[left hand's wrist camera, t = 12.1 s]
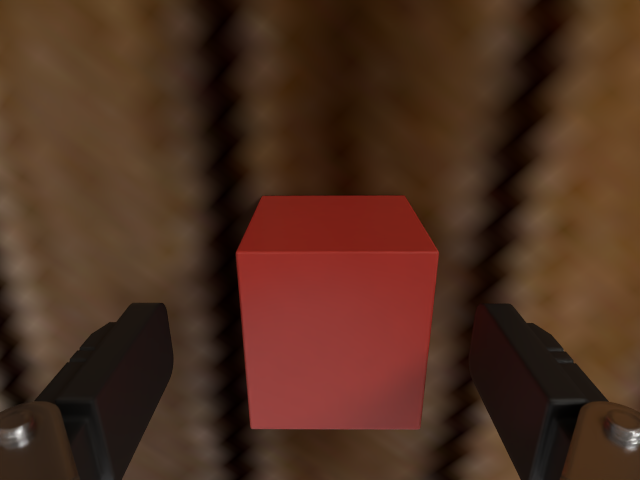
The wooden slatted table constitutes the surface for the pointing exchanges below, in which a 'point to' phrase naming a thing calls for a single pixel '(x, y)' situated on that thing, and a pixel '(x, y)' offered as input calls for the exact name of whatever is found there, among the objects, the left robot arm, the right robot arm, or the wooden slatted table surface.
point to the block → (336, 312)
